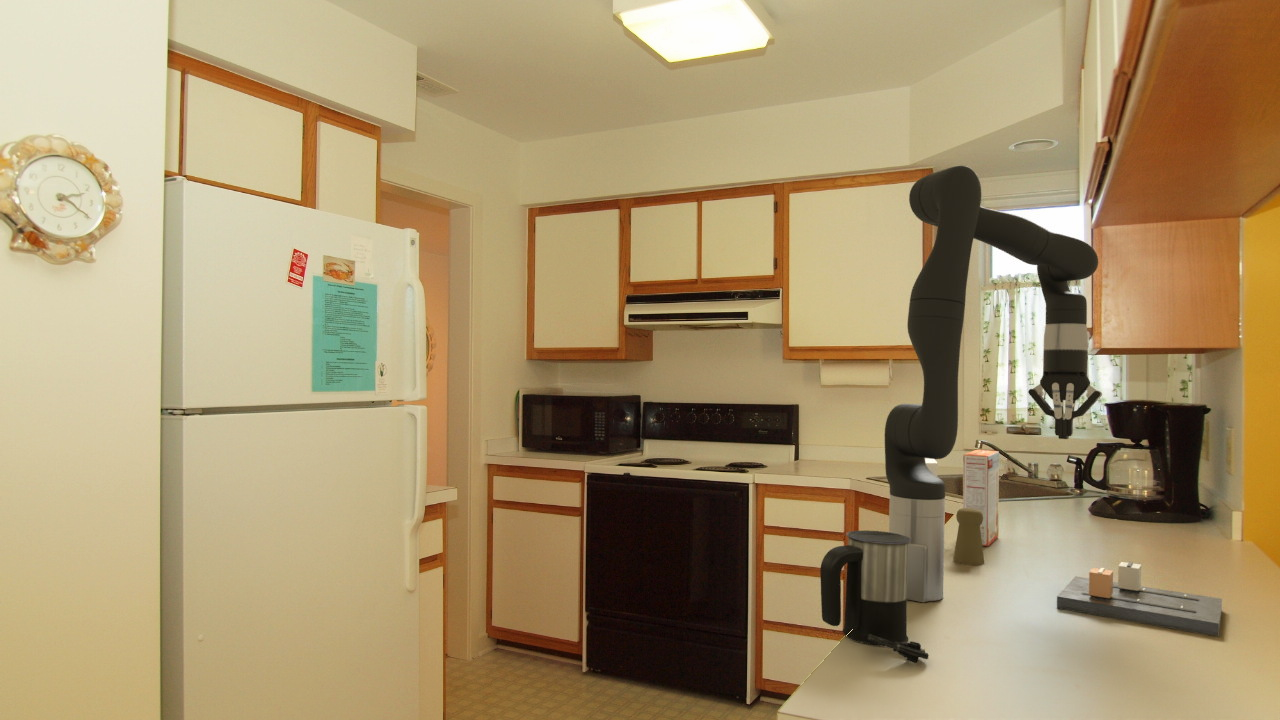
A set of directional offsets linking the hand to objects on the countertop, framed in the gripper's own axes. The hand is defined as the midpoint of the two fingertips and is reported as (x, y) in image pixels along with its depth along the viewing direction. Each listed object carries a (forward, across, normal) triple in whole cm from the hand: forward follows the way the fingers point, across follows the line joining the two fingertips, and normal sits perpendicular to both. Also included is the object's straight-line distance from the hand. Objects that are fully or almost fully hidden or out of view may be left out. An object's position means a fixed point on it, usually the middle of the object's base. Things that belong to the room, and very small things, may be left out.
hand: (1063, 438), depth 155 cm
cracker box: (+27, -22, +29) cm, 45 cm away
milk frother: (+27, -12, -60) cm, 67 cm away
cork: (+27, -18, +4) cm, 33 cm away
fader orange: (+25, +9, -17) cm, 31 cm away
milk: (+27, -32, +14) cm, 44 cm away
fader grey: (+25, +12, -8) cm, 29 cm away
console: (+27, +14, -13) cm, 33 cm away
